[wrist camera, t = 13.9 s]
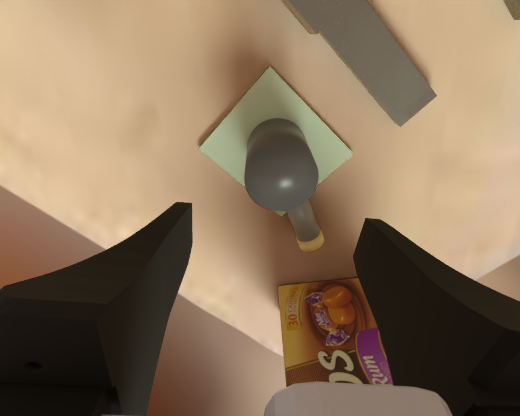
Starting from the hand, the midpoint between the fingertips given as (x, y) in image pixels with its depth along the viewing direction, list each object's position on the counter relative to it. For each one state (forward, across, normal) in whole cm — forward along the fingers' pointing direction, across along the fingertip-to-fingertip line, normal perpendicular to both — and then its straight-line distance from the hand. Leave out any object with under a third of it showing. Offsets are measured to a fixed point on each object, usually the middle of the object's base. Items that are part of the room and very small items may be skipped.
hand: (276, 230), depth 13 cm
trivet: (+10, 0, 0) cm, 10 cm away
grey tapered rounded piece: (+9, -2, +2) cm, 10 cm away
